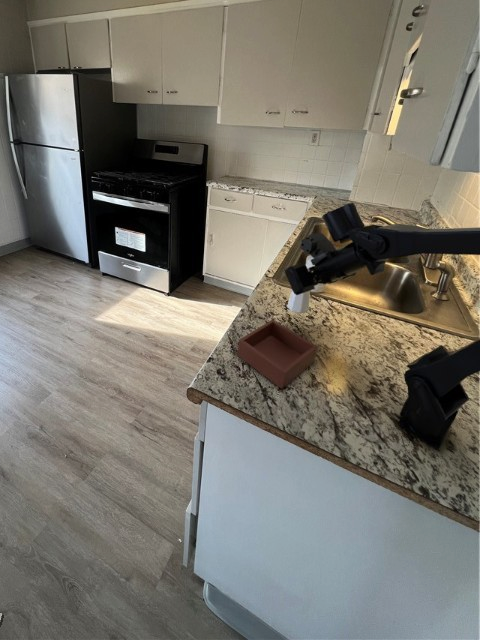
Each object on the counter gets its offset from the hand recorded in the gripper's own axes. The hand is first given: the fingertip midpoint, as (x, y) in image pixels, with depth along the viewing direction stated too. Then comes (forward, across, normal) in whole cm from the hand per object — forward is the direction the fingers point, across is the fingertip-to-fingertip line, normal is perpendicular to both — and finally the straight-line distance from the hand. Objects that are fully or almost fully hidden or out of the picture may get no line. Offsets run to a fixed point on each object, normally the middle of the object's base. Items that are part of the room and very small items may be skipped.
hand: (298, 283), depth 79 cm
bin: (+4, +12, +15) cm, 19 cm away
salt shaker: (+4, 0, +6) cm, 7 cm away
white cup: (+17, -22, +1) cm, 28 cm away
